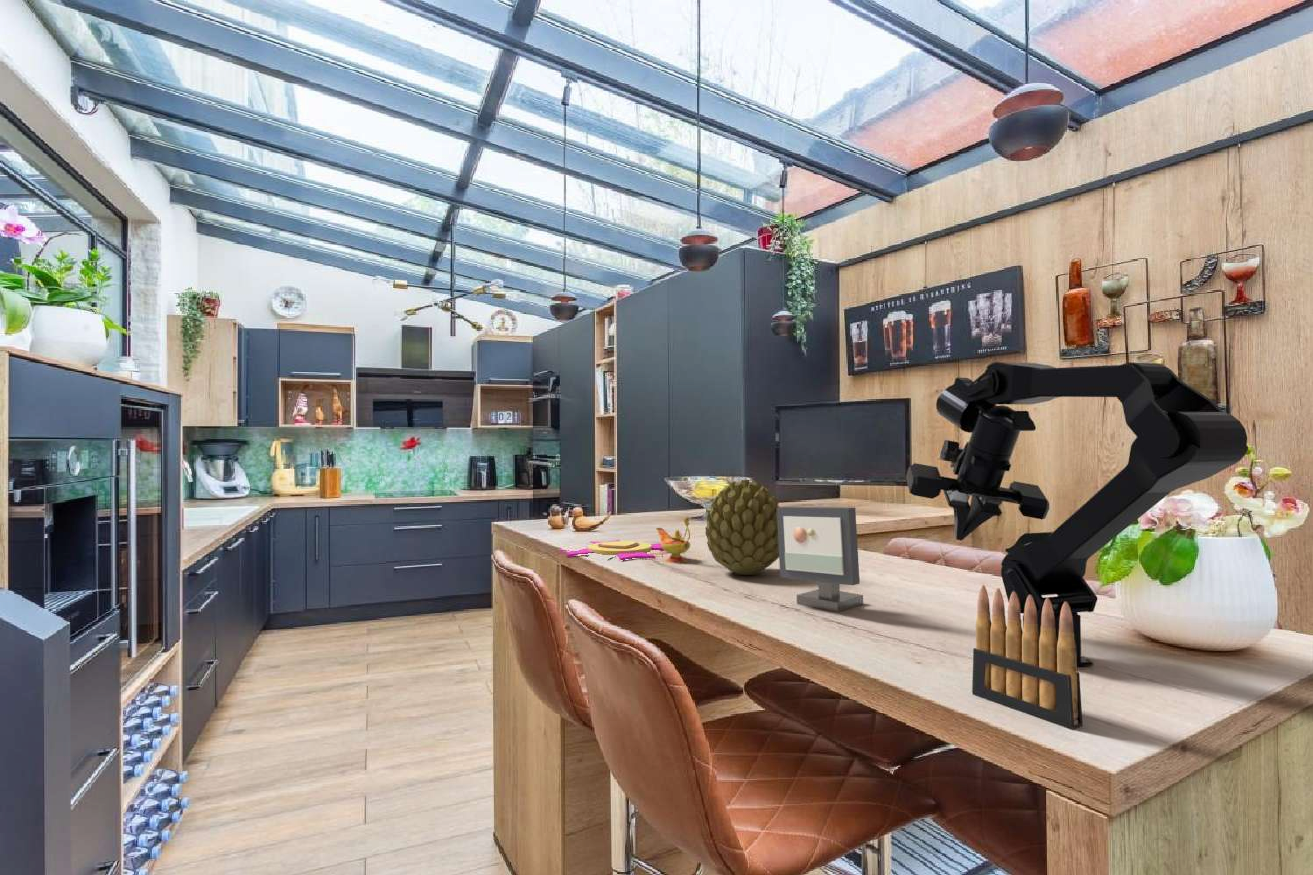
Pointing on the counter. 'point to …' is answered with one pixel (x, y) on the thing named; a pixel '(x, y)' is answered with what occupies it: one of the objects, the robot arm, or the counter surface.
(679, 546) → the magic lamp
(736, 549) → the decorative object
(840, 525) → the picture frame
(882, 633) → the counter surface
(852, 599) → the picture stand
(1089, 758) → the counter surface
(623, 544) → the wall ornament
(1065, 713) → the ammunition clip
